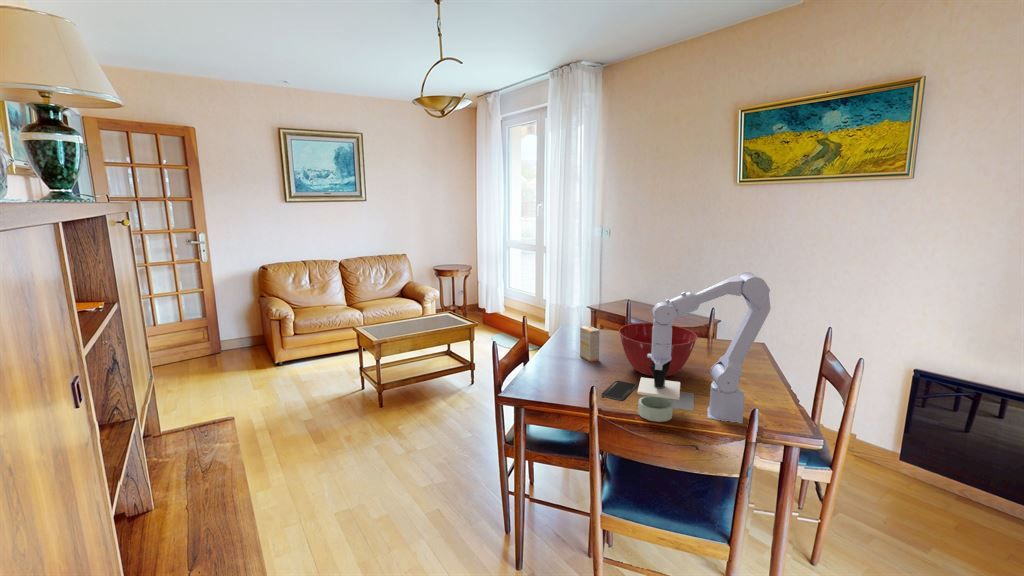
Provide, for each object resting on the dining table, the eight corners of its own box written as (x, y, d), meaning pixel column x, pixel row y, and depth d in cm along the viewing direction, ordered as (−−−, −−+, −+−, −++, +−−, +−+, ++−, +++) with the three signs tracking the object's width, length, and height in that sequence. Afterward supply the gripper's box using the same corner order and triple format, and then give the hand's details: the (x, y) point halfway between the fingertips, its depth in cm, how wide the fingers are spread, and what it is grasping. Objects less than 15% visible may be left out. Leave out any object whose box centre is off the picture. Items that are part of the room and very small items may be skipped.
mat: (694, 394, 158) (694, 393, 158) (693, 411, 145) (693, 410, 145) (651, 388, 163) (651, 387, 163) (647, 405, 150) (647, 404, 150)
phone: (600, 394, 157) (616, 380, 169) (600, 398, 157) (616, 383, 170) (622, 399, 153) (637, 384, 165) (622, 403, 153) (637, 387, 165)
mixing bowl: (702, 366, 184) (704, 328, 181) (684, 391, 160) (686, 348, 157) (632, 354, 199) (633, 319, 196) (606, 375, 176) (607, 336, 173)
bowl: (673, 410, 147) (673, 398, 146) (671, 424, 137) (672, 411, 137) (640, 405, 150) (640, 393, 149) (636, 419, 141) (636, 406, 140)
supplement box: (599, 360, 192) (600, 329, 189) (589, 362, 190) (590, 331, 188) (589, 354, 200) (589, 324, 197) (579, 356, 198) (579, 326, 195)
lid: (680, 384, 148) (680, 373, 147) (679, 399, 137) (680, 387, 136) (640, 379, 152) (641, 368, 151) (637, 394, 141) (637, 382, 140)
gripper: (650, 334, 150) (648, 374, 152) (645, 347, 137) (643, 391, 139) (673, 336, 147) (671, 377, 150) (670, 350, 134) (668, 394, 137)
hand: (659, 384), depth 144 cm, fingers closed on lid, 3 cm apart
